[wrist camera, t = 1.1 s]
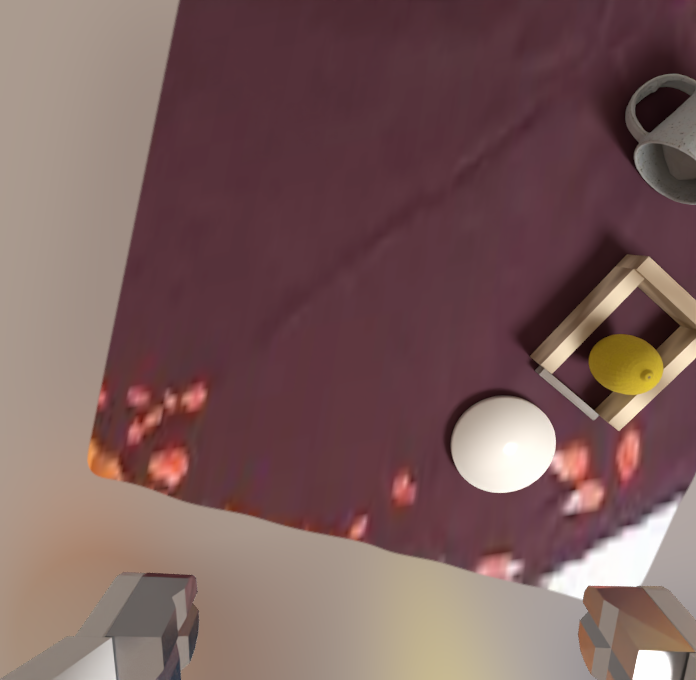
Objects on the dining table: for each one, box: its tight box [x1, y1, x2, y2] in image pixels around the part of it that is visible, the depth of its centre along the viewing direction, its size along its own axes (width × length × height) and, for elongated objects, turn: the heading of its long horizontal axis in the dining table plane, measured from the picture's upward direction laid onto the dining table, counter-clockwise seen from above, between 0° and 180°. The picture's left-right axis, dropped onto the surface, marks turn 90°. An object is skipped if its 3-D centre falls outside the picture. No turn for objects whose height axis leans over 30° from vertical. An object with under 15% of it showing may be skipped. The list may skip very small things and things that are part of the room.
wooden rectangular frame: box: [530, 254, 696, 431], centre depth 46 cm, size 14×11×4 cm
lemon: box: [589, 334, 663, 395], centre depth 44 cm, size 6×6×8 cm
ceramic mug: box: [625, 74, 696, 205], centre depth 39 cm, size 11×8×8 cm
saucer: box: [450, 395, 556, 493], centre depth 50 cm, size 11×11×1 cm
